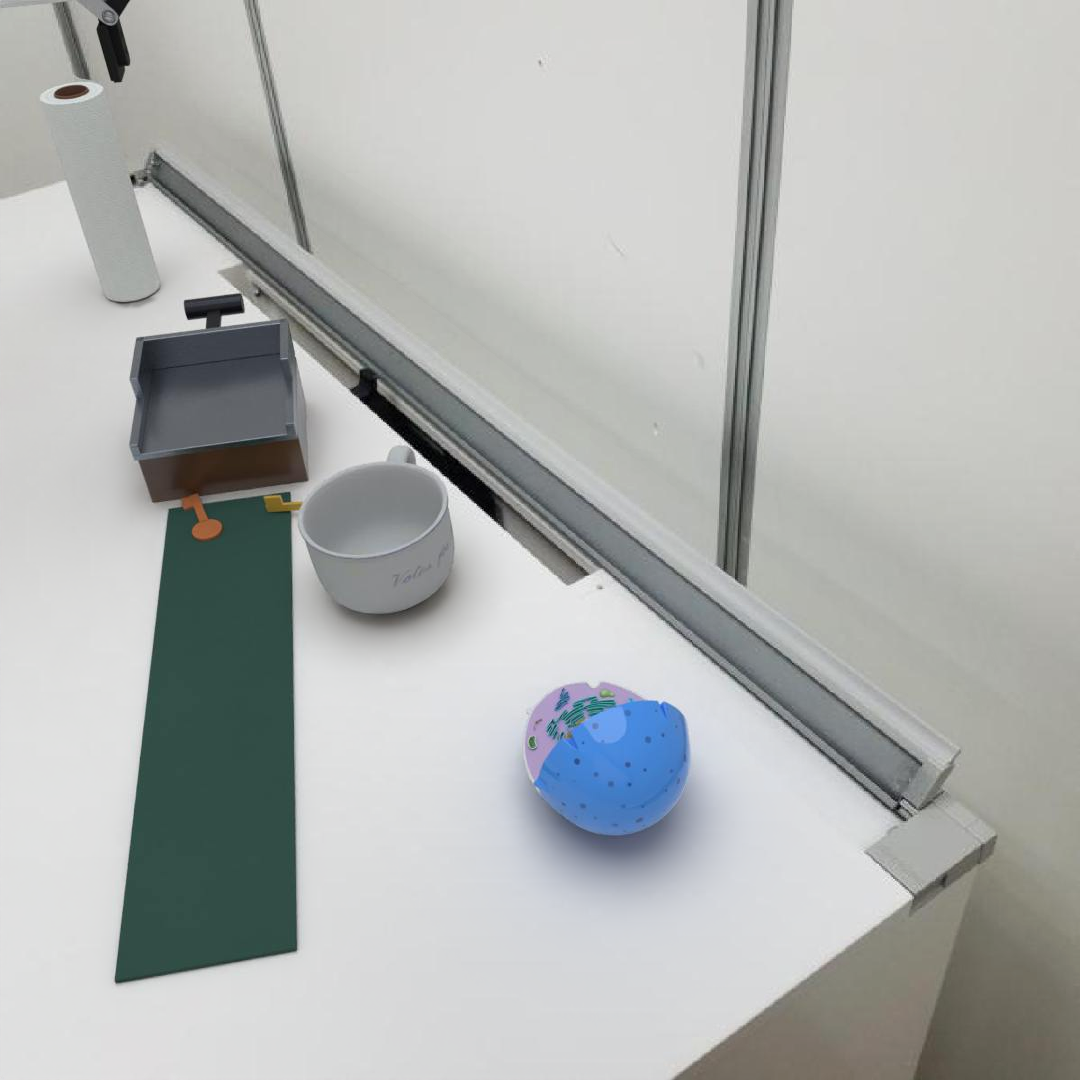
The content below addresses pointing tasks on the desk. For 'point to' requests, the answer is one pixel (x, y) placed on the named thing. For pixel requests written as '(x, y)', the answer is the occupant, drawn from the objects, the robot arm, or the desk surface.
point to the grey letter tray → (213, 384)
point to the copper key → (202, 520)
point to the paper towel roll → (101, 188)
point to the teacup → (379, 534)
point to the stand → (231, 465)
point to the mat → (216, 752)
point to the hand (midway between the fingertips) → (53, 83)
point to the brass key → (280, 504)
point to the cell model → (607, 756)
